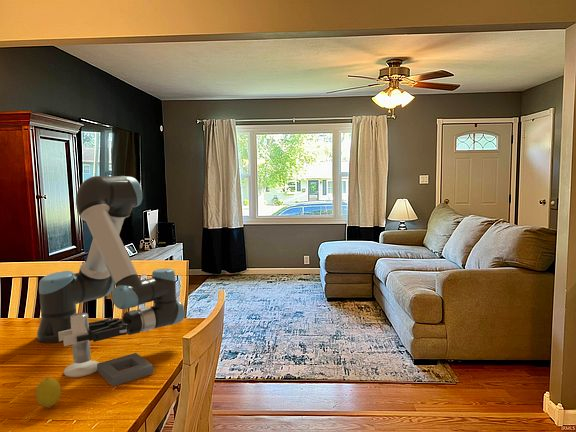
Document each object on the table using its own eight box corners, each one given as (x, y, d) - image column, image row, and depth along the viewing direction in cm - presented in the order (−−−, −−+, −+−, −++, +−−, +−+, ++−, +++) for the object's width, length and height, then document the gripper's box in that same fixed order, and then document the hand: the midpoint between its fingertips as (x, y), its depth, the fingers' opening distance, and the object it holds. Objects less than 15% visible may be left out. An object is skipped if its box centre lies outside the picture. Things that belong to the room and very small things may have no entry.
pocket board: (97, 371, 133) (96, 363, 132) (136, 360, 140) (135, 352, 140) (112, 386, 123) (112, 377, 123) (153, 373, 131) (153, 365, 130)
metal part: (71, 360, 134) (68, 315, 133) (88, 355, 137) (85, 311, 136) (76, 364, 130) (72, 318, 129) (92, 360, 133) (90, 315, 132)
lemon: (51, 414, 109) (48, 383, 108) (31, 412, 110) (29, 381, 109) (66, 402, 114) (64, 373, 113) (48, 401, 115) (46, 371, 115)
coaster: (60, 369, 135) (60, 367, 135) (94, 360, 141) (94, 358, 141) (69, 380, 127) (69, 377, 127) (104, 370, 134) (104, 367, 134)
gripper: (150, 338, 138) (70, 360, 123) (128, 325, 152) (54, 343, 137) (149, 315, 138) (68, 334, 123) (127, 304, 151) (52, 319, 136)
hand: (61, 339), depth 130 cm, fingers closed on metal part, 5 cm apart
